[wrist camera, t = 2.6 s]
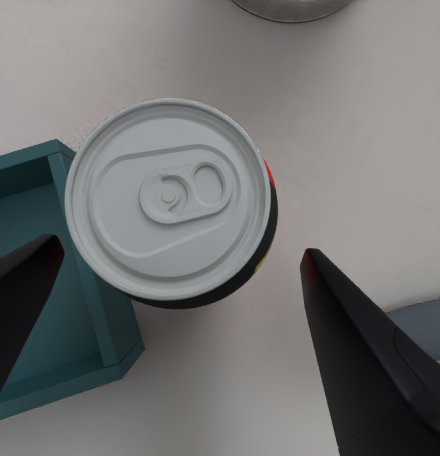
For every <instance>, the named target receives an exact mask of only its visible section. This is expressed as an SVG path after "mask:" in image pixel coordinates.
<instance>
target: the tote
mask: <svg viewBox="0 0 440 456" xmlns="http://www.w3.org/2000/svg"><path fill="white" fill-rule="evenodd" d="M75 155H76V152H74V151H73V150H72V149H70V148H69V147H67V146H66V145H64V144H63V143H62V142H60V141H59V140H57V139H54V140H51V141H48V142H44V143H41V144H38V145H34V146H31V147H28V148H24V149H21V150H18V151H14V152H11V153H8V154H5V155H1V156H0V257H2V256H4V255H6V254H8V253H9V252H11V251H13V250H15V249H17V248H19V247H20V246H22V245H24V244H26V243H28V242H30V241H31V240H33V239H35V238H37V237H39V236H40V235H42V234H55V235H57V236H58V237H59V240H60V242H61V244H62V246H63V248H64V250H65V257H64V260H63V262H62V265H61V268H60V270H59V273H58V276H57V278H56V281H55V284H54V286H53V289H52V291H51V294H50V296H49V298H48V300H47V302H46V304H45V306H44V308H43V310H42V312H41V314H40V316H39V318H38V320H37V322H36V324H35V326H34V328H33V329H32V331H31V333H30V335H29V337H28V339H27V341H26V343H25V345H24V347H23V349H22V351H21V353H20V355H19V357H18V359H17V361H16V363H15V365H14V367H13V369H12V371H11V373H10V375H9V377H8V379H7V381H6V383H5V385H4V387H3V389H2V391H1V392H0V420H1V419H4V418H7V417H10V416H13V415H16V414H19V413H22V412H25V411H28V410H31V409H34V408H37V407H40V406H43V405H46V404H49V403H52V402H54V401H57V400H60V399H63V398H66V397H69V396H72V395H75V394H78V393H81V392H84V391H87V390H90V389H93V388H96V387H99V386H102V385H105V384H108V383H111V382H113V381H116V380H119V379H122V378H123V377H124V376H125V375H126V373H127V372H128V371H129V369H130V368H131V367H132V365H133V364H134V363H135V361H136V360H137V359H138V357H139V356H140V355H141V353H142V352H143V351H144V350H145V349H144V345H143V342H142V338H141V335H140V331H139V328H138V324H137V321H136V317H135V314H134V310H133V307H132V304H131V300H130V298H129V297H128V296H126V295H124V294H123V293H121V292H119V291H118V290H117V289H115V288H114V287H113V286H112V285H110V284H109V283H108V282H106V281H105V280H103V279H102V278H101V277H100V276H98V275H97V274H96V273H95V272H94V271H93V270H92V269H91V268H90V267H89V265H88V264H87V263H86V262H85V261H84V259H83V258H82V256H81V255H80V253H79V252H78V250H77V248H76V246H75V244H74V242H73V240H72V237H71V235H70V232H69V228H68V225H67V220H66V215H65V188H66V182H67V177H68V173H69V170H70V167H71V164H72V162H73V160H74V157H75Z"/></svg>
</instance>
